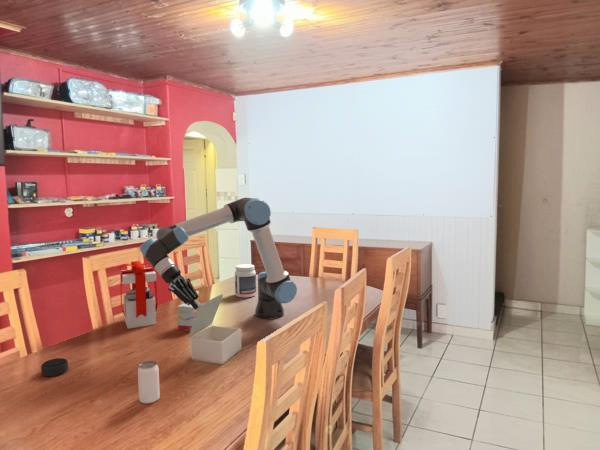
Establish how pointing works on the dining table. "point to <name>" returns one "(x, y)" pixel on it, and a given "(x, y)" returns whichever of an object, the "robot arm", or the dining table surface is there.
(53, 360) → the smart speaker
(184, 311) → the ink box
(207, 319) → the lid
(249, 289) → the supplement tub
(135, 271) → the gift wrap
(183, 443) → the dining table surface
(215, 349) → the storage box
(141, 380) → the can
